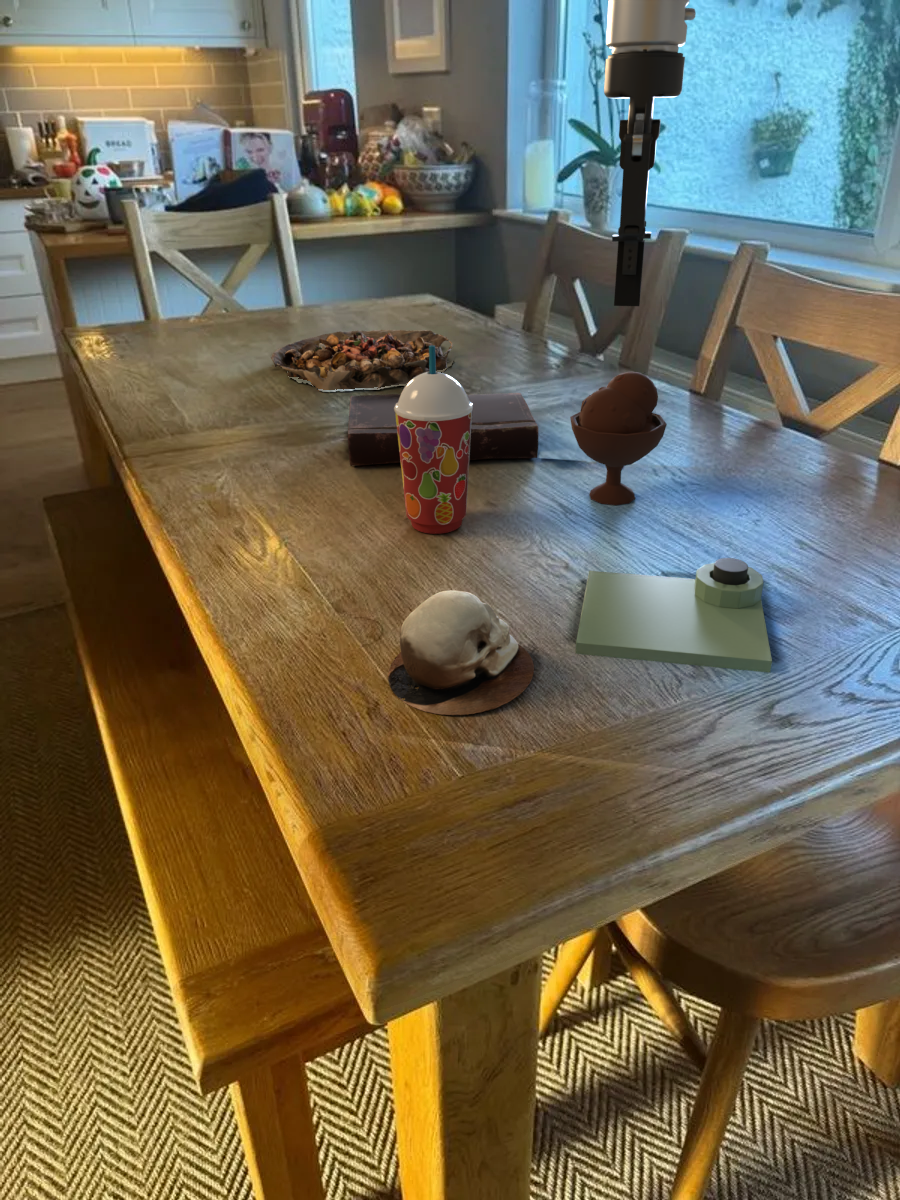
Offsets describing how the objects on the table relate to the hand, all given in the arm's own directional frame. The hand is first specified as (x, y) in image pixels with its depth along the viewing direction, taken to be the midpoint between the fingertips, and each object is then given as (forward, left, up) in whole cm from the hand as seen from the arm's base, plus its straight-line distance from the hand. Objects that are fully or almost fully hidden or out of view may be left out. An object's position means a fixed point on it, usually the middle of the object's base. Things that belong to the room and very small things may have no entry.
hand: (626, 304), depth 98 cm
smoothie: (+19, +12, -23) cm, 32 cm away
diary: (+25, -16, -23) cm, 37 cm away
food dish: (+48, -56, -23) cm, 77 cm away
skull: (+10, +42, -23) cm, 49 cm away
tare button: (-12, +25, -20) cm, 34 cm away
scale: (-7, +30, -23) cm, 38 cm away
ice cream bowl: (0, 0, -23) cm, 23 cm away
